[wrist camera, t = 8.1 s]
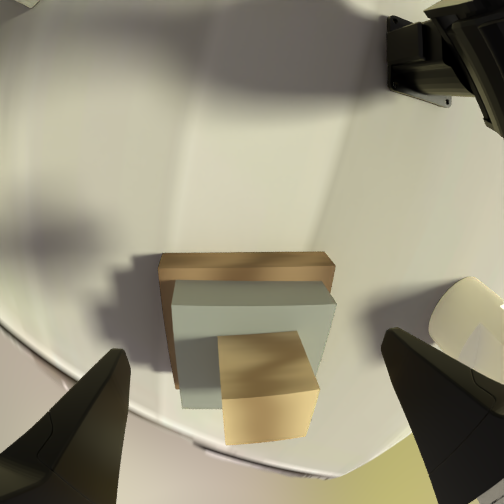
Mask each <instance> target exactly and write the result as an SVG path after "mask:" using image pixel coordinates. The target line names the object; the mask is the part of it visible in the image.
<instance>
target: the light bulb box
mask: <svg viewBox="0 0 504 504" xmlns="http://www.w3.org/2000/svg"><path fill="white" fill-rule="evenodd" d="M15 1H17V2H19V3H21V4H23V5H25V6H27V7H29V8H33V7H34V6H35V5H36V3H37V2H38V1H39V0H15Z"/></svg>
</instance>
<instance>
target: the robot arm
mask: <svg viewBox="0 0 504 504" xmlns="http://www.w3.org/2000/svg"><path fill="white" fill-rule="evenodd" d="M424 13H425V14H426V16H427V17H428V18H430V19H431V20H428V21H425V22H416V23H412V22H409V21H407V20H405V19H402V18H400V17H397V16H394V15H392V16H390V17H388V18H387V32H388V33H387V63H388V82H387V84H388V87H389V89H390V90H391V91H394V92H397V93H401V94H404V95H408V96H411V97H414V98H418V99H421V100H424V101H427V102H430V103H433V104H436V105H438V106H441V107H444V108H449V107H450V106H451V96H463V97H475V98H476V100H477V102H478V104H479V107H480V109H481V111H482V114H483V116H484V118H483V119H484V122H485V124H486V126H487V127H489V128H491V129H492V130H494V131H496V132H497V133H498V134H499V135H500V136H501V137H503V138H504V0H441V1H439V2H437V3H436V4H434V5H432V6H431V7H429V8H427V9H425V10H424ZM392 19H393V20H394V21H395V23H394V22H393V20H392ZM393 82H394V83H395V85H396V87H394V86H393ZM445 100H446V103H445ZM381 352H382V355H383V358H384V361H385V364H386V367H387V370H388V373H389V376H390V379H391V382H392V385H393V388H394V390H395V392H396V395H397V397H398V399H399V401H400V404H401V406H402V408H403V411H404V413H405V416H406V418H407V420H408V423H409V425H410V428H411V430H412V433H413V435H414V438H415V440H416V443H417V445H418V448H419V450H420V453H421V456H422V458H423V461H424V463H425V466H426V469H427V471H428V474H429V477H430V480H431V483H432V486H433V489H434V492H435V495H436V498H437V501H438V504H468V503H470V502H471V501H473V500H474V499H476V498H477V499H478V501H479V503H480V504H504V385H503V384H501V383H499V382H497V381H495V380H493V379H490V378H488V377H486V376H485V375H483V374H481V373H479V372H477V371H475V370H474V369H472V368H471V369H470V367H468V366H466V365H465V364H463V363H461V362H459V361H458V360H456V359H454V358H452V357H450V356H449V355H447V354H445V353H443V352H441V351H440V350H438V349H436V348H434V347H432V346H431V345H429V344H427V343H425V342H423V341H422V340H420V339H418V338H416V337H415V336H413V335H411V334H409V333H407V332H406V331H404V330H402V329H400V328H398V327H395V328H390V329H388V330H387V331H386V333H385V336H384V339H383V342H382V345H381ZM130 375H131V368H130V364H129V362H128V359H127V356H126V353H125V351H124V350H123V349H116V348H113V349H111V350H110V351H109V352H108V353H107V354H106V355H104V356H103V357H102V358H101V359H100V360H99V361H98V362H97V363H96V364H95V365H94V366H93V367H92V368H91V369H90V370H89V371H88V372H87V373H86V374H85V375H84V376H83V377H82V378H81V379H80V380H79V381H78V382H77V383H76V384H75V385H74V386H73V387H72V388H71V389H70V390H69V391H68V392H67V393H66V394H65V395H64V396H63V397H62V398H61V399H60V400H59V401H58V402H57V403H56V404H55V405H54V406H53V407H52V408H51V409H50V410H49V412H47V413H46V414H45V415H44V416H43V417H42V418H41V419H40V420H39V421H38V422H37V423H36V424H35V425H34V426H33V427H32V428H30V429H29V430H28V431H27V432H26V433H25V434H24V435H22V436H21V437H20V438H19V439H18V440H16V441H15V442H14V443H13V444H12V445H10V446H9V447H8V448H7V449H6V450H4V451H3V452H2V453H0V504H116V499H117V488H118V478H119V470H120V462H121V455H122V447H123V440H124V434H125V427H126V422H127V415H128V406H129V389H130Z"/></svg>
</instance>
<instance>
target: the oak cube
mask: <svg viewBox="0 0 504 504" xmlns="http://www.w3.org/2000/svg"><path fill="white" fill-rule="evenodd" d="M217 338H218V354H219V369H220V383H221V396H222V409H223V420H224V431H225V442H226V445H238V444H250V443H261V442H270V441H278V440H285V439H292V438H298V437H304V436H306V434H307V431H308V428H309V424H310V421H311V418H312V415H313V412H314V408H315V405H316V402H317V398H318V395H319V392H320V388H319V385H318V382H317V380H316V377H315V375H314V372H313V370H312V367H311V365H310V362H309V360H308V357H307V355H306V352H305V349H304V347H303V344H302V342H301V339H300V337H299V334H298V332H297V331H288V332H276V333H263V334H247V335H229V336H217Z"/></svg>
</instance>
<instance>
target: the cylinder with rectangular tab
mask: <svg viewBox="0 0 504 504" xmlns="http://www.w3.org/2000/svg"><path fill="white" fill-rule="evenodd" d="M428 331H429V334H430V337H431V338H432V339H433V340H434V341H435V343H436V344H437V345H438V346H439V347H440V348H441V350H442V351H443V352H444V353H445V354H447V355H449V356H450V357H452V358H454V359H456V360H458V361H459V362H461V363H463V364H465V365H466V366H468V367H470V369H471V368H472V369H475V371H477V372H479V373H481V374H483V375H485V376H486V377H488V378H490V379H493V380H495V381H497V382H499V383H501V384H503V385H504V300H503V299H502V298H500V297H499V296H498V295H497V294H496V293H494V292H493V291H492V290H491V289H489V288H488V287H487V286H486V285H484V284H483V283H482V282H481V281H479V280H478V279H477V278H475V277H467V278H463V279H462V280H460V281H458V282H456V283H455V284H454V285H453V286H452V287H451V288H450V289H449V290H448V291H447V292H446V293H445V294H444V295H443V296H442V298H441V299H440V301H439V302H438V304H437V305H436V307H435V309H434V311H433V313H432V315H431V319H430V322H429V330H428Z"/></svg>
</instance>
